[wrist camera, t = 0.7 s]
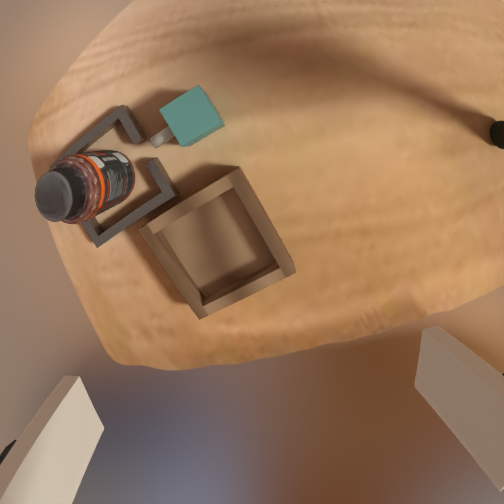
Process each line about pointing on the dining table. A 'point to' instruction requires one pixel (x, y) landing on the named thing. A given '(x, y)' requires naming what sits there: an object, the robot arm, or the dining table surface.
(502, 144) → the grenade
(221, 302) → the open box
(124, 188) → the supplement bottle
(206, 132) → the pin
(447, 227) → the dining table surface
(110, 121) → the socket collar
